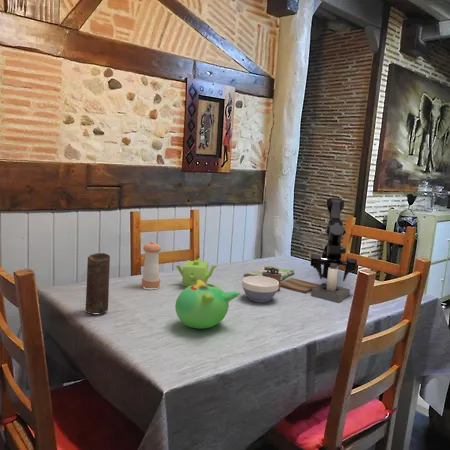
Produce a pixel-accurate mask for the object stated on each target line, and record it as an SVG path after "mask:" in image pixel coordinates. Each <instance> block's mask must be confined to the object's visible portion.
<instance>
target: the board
mask: <svg viewBox="0 0 450 450" xmlns="http://www.w3.org/2000/svg"><path fill="white" fill-rule="evenodd" d="M318 285H320V283H315V282H310V281H306V280H302V279H298V278H294V277H289V278H286V279H284V280H282V281H280V288H281V289H285V290H286V289H287V290H290V291H293V292H297V293H302V294H308V293H309V292H312V288H314V287H316V286H318Z"/></svg>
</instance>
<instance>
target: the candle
mask: <svg viewBox="0 0 450 450" xmlns="http://www.w3.org/2000/svg"><path fill="white" fill-rule="evenodd" d="M110 261H111V257H110V255H109V254H107V253H104V252H103V253H101V252H95V253H93V254H89V256H87V262H86V263H87V264H86V265H87V268H86V292H85V294H86V296H85V310H86V311H87V312H90V313H89V314H92V313H100V314H102V313H105V312H107V311H108V310H109V297H110V296H109V292H110V291H109V289H110V287H109V286H110V265H111V264H110ZM86 311H85V312H86ZM87 312H86V313H87Z"/></svg>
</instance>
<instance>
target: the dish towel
mask: <svg viewBox="0 0 450 450" xmlns="http://www.w3.org/2000/svg"><path fill="white" fill-rule="evenodd" d="M264 267H270V268H272V267H274V268H277V267H275V266H272V265H264V266H263V267H260V268H258V269H255V270H252V271H250V272H248V271H247V272H244V273H243V278H245V277H248V276H262V272H267V270H264ZM278 269H279V272H278V273H281V279H280V282H283V281H285V280H287V279H289V278H291V277H292V276H294V275H295V272H294V271H295V270H294V269H285V268H278ZM269 272H270V271H269ZM275 272H276V271H275Z"/></svg>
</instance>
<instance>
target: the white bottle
mask: <svg viewBox="0 0 450 450" xmlns="http://www.w3.org/2000/svg"><path fill="white" fill-rule="evenodd" d="M338 274H339V268H338V266H337V263H330V267H328V276H327V277H326V284H327V286H326V290H329V291H333V292H336V286H338V285H337V284H338Z"/></svg>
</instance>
